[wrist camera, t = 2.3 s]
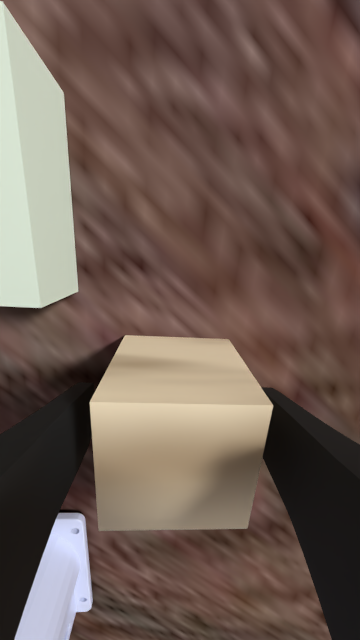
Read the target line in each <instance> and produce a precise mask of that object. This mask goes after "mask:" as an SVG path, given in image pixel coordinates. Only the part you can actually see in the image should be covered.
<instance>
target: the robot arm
mask: <svg viewBox="0 0 360 640" xmlns="http://www.w3.org/2000/svg"><path fill="white" fill-rule="evenodd" d="M261 388H262V390H263V391H264V392H265V394H266V395H267V397H268V398H269V400H270V401H271V403H272V404H273V409H272V414H271V419H270V424H269V428H268V433H267V438H266V442H265V447H264V452H263V459H264V461H265V463H266V465H267V468H268V470H269V472H270V474H271V476H272V478H273V481H274V483H275V485H276V487H277V489H278V491H279V494H280V496H281V498H282V500H283V502H284V505H285V507H286V509H287V511H288V514H289V516H290V519H291V521H292V524H293V526H294V529H295V532H296V535H297V537H298V540H299V543H300V546H301V548H302V551H303V554H304V557H305V560H306V563H307V565H308V568H309V571H310V574H311V577H312V580H313V583H314V586H315V589H316V592H317V595H318V598H319V601H320V604H321V607H322V610H323V613H324V616H325V619H326V623H327V626H328V629H329V632H330V635H331V638H332V640H360V445H359V444H358V443H356V442H354V441H353V440H351V439H349V438H347V437H346V436H344V435H343V434H341V433H340V432H338V431H336V430H335V429H333V428H332V427H330V426H328V425H327V424H325V423H324V422H322V421H321V420H319V419H318V418H316V417H315V416H313V415H312V414H310V413H309V412H308V411H306V410H305V409H303V408H302V407H300V406H299V405H297V404H296V403H295V402H293V401H292V400H290V399H289V398H287V397H286V396H284V395H283V394H281V393H280V392H278V391H277V390H275V389H273V388H263V387H261ZM93 395H94V383H84V382H79V383H77V384H76V385H74V386H73V387H71V388H70V389H68V390H67V391H65V392H64V393H63V394H61V395H60V396H58V397H57V398H55V399H54V400H53V401H51V402H50V403H48V404H47V405H45V406H44V407H42V408H41V409H40V410H38V411H37V412H35V413H34V414H32V415H30V416H29V417H27V418H26V419H24V420H23V421H21V422H19V423H18V424H16V425H15V426H13V427H12V428H10V429H8V430H7V431H5V432H3V433H2V434H0V640H69V637H70V633H71V629H72V625H73V622H74V618H75V614H76V612H85V611H89V610H90V609H91V606H92V601H93V599H92V588H91V577H90V566H89V555H88V545H87V534H86V523H85V517H84V516H83V515H82V514H81V513H59V511H60V508H61V506H62V504H63V502H64V499H65V497H66V495H67V493H68V491H69V488H70V486H71V484H72V482H73V480H74V477H75V475H76V473H77V471H78V469H79V466H80V464H81V462H82V460H83V457H84V455H85V453H86V451H87V448H88V446H89V443H90V440H91V437H92V429H91V415H90V400H91V398H92V396H93Z"/></svg>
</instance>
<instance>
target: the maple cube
mask: <svg viewBox="0 0 360 640" xmlns="http://www.w3.org/2000/svg"><path fill="white" fill-rule="evenodd" d="M272 409H273V404H272V403H271V401H270V400H269V398H268V397H267V395H266V394H265V392H264V391H263V390H262V388H261V387H260V385H259V384H258V382H257V381H256V379H255V378H254V376H253V375H252V373H251V372H250V370H249V369H248V367H247V366H246V364H245V363H244V361H243V360H242V358H241V357H240V355H239V354H238V353H237V351H236V350H235V348H234V347H233V345H232V344H231V342H230V341H229V339H208V338H182V337H155V336H128V335H125V336H124V338H123V340H122V342H121V344H120V346H119V347H118V349H117V351H116V353H115V355H114V357H113V359H112V361H111V363H110V364H109V366H108V368H107V370H106V372H105V374H104V376H103V378H102V380H101V381H100V383H99V385H98V387H97V389H96V391H95V393H94V395H93V396H92V398H91V400H90V415H91V429H92V444H93V458H94V472H95V486H96V500H97V515H98V529H99V531H123V530H189V529H247V527H248V523H249V518H250V513H251V509H252V504H253V499H254V494H255V490H256V485H257V480H258V476H259V471H260V466H261V461H262V457H263V452H264V447H265V442H266V438H267V433H268V428H269V424H270V419H271V414H272Z"/></svg>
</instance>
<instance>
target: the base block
mask: <svg viewBox="0 0 360 640" xmlns="http://www.w3.org/2000/svg"><path fill="white" fill-rule="evenodd" d="M76 292H78V280H77V266H76V253H75V239H74V225H73V212H72V198H71V185H70V171H69V158H68V144H67V130H66V117H65V103H64V93H63V91H62V90H61V88H60V87H59V85H58V84H57V82H56V81H55V79H54V78H53V76H52V75H51V73H50V72H49V70H48V69H47V67H46V66H45V64H44V63H43V61H42V60H41V58H40V57H39V55H38V54H37V52H36V51H35V49H34V48H33V46H32V45H31V43H30V42H29V40H28V39H27V37H26V36H25V34H24V33H23V31H22V30H21V28H20V27H19V25H18V24H17V22H16V21H15V19H14V18H13V16H12V15H11V13H10V12H9V10H8V9H7V8H6V6H5V5H4V3H3V2H2V1H0V306H7V307H29V308H42V307H44V306H47V305H49V304H51V303H54V302H56V301H58V300H60V299H63V298H65V297H67V296H69V295H72V294H74V293H76Z"/></svg>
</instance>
